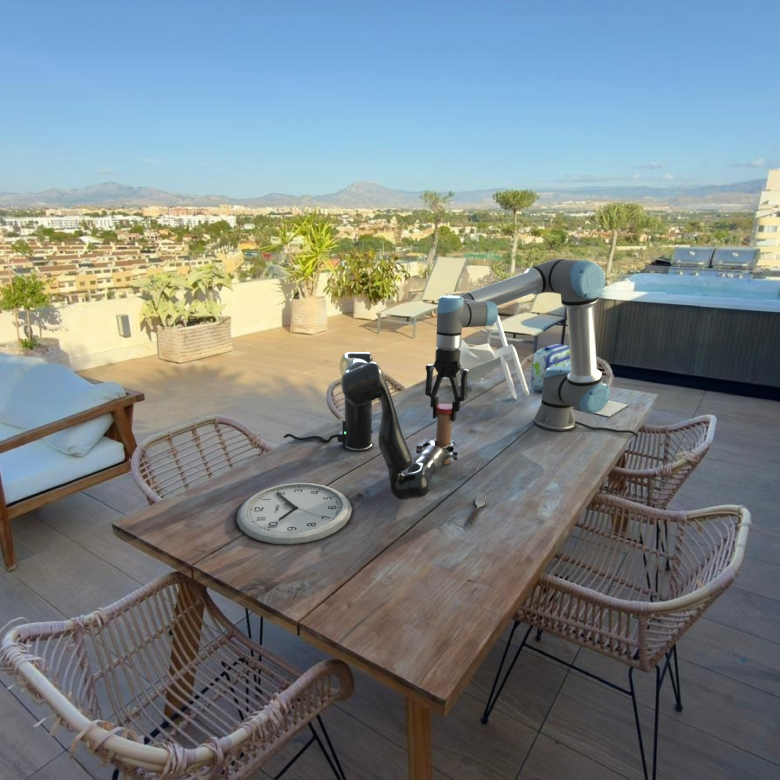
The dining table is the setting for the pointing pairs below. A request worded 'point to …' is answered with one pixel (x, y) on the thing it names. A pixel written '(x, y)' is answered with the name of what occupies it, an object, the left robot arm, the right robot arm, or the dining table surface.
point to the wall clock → (294, 513)
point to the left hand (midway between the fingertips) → (445, 441)
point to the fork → (478, 503)
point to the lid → (444, 408)
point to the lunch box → (548, 362)
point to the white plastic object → (489, 362)
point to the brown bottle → (443, 431)
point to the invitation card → (611, 408)
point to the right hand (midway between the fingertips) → (444, 418)
